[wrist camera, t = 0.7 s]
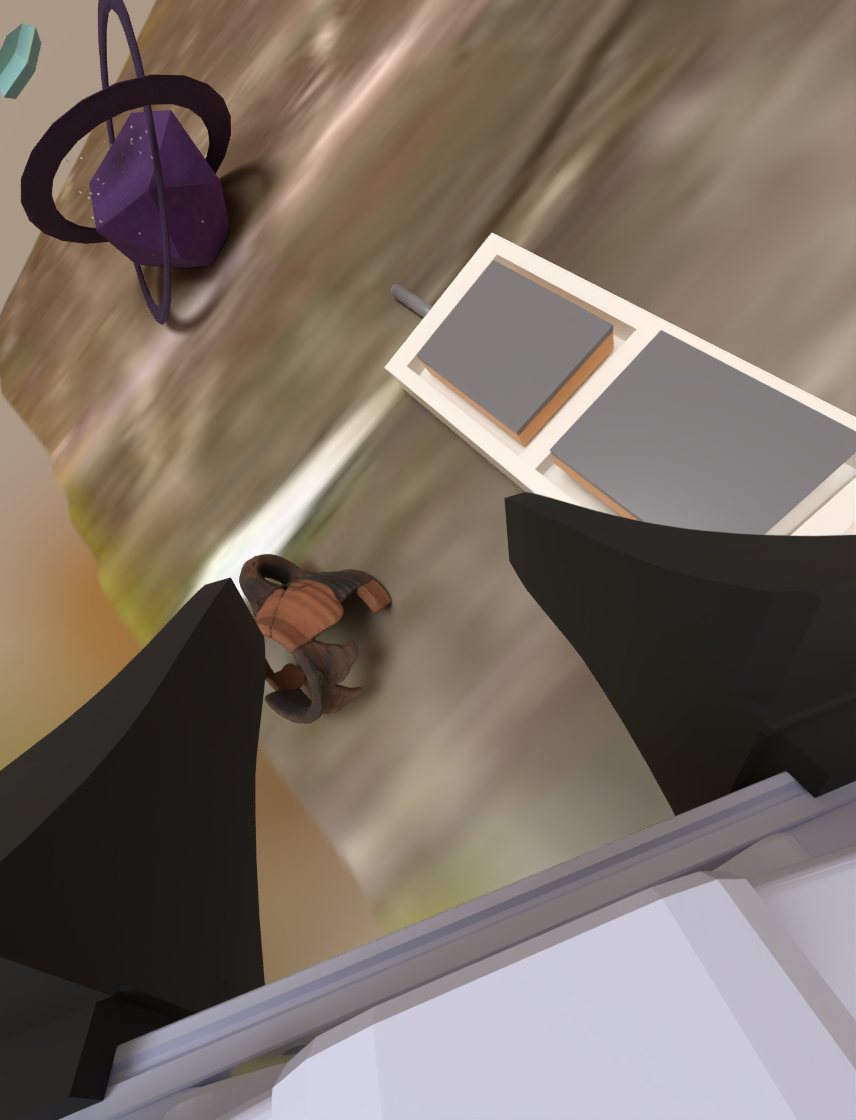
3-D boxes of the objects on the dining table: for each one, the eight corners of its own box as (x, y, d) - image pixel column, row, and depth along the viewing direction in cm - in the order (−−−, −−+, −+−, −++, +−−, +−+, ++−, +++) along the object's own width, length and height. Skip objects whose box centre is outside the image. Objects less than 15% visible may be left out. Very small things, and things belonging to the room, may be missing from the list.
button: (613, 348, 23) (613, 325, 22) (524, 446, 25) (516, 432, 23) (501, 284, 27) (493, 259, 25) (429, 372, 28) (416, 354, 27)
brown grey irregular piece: (431, 619, 28) (352, 692, 22) (377, 685, 34) (302, 759, 27) (311, 506, 30) (206, 542, 24) (279, 586, 36) (188, 633, 29)
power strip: (1278, 696, 14) (1435, 711, 11) (986, 881, 16) (1060, 932, 13) (441, 234, 32) (425, 198, 29) (354, 348, 34) (332, 323, 31)
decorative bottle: (267, 113, 45) (-79, -396, 23) (302, 248, 39) (-124, -266, 17) (140, 241, 53) (-213, -46, 30) (152, 369, 47) (-276, 130, 24)
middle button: (844, 459, 17) (870, 438, 15) (707, 582, 18) (717, 577, 17) (657, 355, 21) (661, 329, 19) (555, 464, 22) (549, 449, 20)
